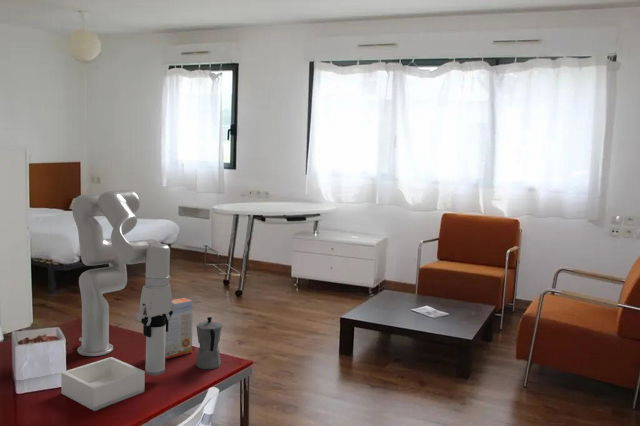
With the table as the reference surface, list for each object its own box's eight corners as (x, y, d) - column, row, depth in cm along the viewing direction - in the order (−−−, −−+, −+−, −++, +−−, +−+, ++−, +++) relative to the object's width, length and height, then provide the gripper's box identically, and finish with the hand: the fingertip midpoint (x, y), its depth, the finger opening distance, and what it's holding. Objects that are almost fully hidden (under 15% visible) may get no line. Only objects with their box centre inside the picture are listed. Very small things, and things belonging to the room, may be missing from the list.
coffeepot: (193, 359, 217) (194, 312, 215) (218, 357, 220) (219, 311, 218) (198, 375, 203) (199, 325, 201) (225, 372, 206) (227, 323, 204)
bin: (61, 393, 184) (61, 372, 183) (111, 376, 198) (111, 356, 197) (94, 411, 173) (94, 388, 172) (144, 391, 188) (144, 371, 187)
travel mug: (140, 373, 193) (141, 315, 190) (153, 366, 199) (154, 310, 196) (156, 377, 191) (157, 319, 188) (168, 370, 197) (169, 313, 194)
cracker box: (184, 348, 227) (185, 296, 225) (192, 353, 223) (193, 300, 220) (151, 356, 218) (152, 302, 215) (159, 361, 213) (159, 306, 211)
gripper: (170, 274, 200) (169, 324, 202) (127, 283, 186) (126, 337, 188) (185, 279, 196) (183, 330, 198) (142, 288, 182) (141, 343, 184)
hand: (155, 333), depth 193 cm, fingers closed on travel mug, 6 cm apart
